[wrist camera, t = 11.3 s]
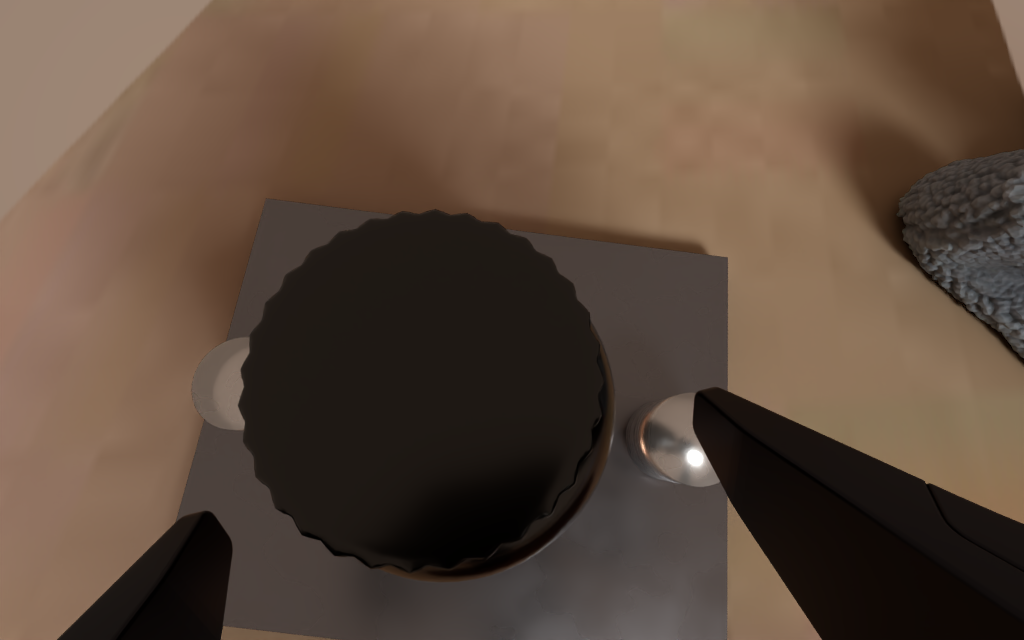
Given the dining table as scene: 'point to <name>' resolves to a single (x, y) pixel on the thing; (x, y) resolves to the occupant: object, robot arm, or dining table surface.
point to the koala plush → (974, 236)
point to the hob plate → (573, 555)
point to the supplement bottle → (428, 397)
